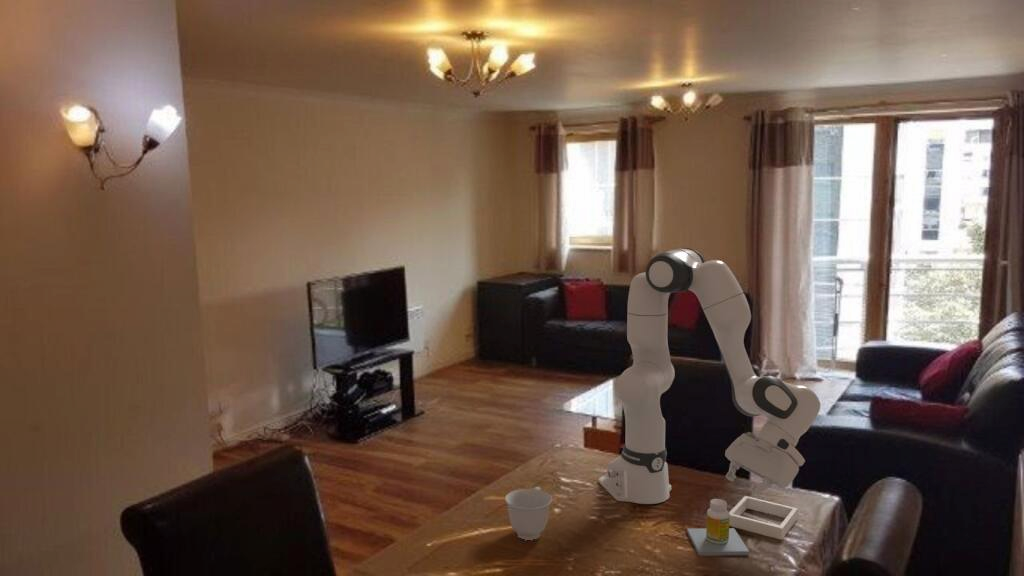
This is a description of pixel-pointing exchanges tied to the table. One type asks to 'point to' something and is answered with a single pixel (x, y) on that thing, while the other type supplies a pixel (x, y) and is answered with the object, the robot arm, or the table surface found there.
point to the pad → (712, 549)
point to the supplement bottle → (718, 522)
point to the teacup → (528, 511)
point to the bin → (760, 526)
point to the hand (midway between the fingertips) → (741, 486)
